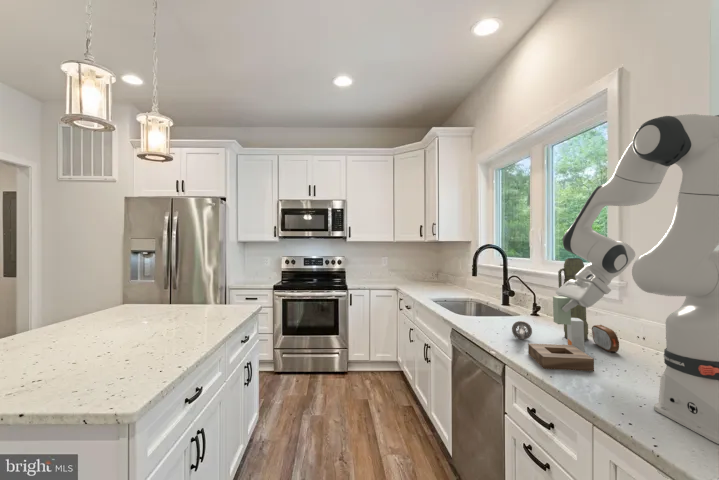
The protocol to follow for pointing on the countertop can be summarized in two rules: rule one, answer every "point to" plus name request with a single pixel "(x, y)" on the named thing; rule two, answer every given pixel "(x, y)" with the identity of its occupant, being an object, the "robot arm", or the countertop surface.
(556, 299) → the green block
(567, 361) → the walnut holder
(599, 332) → the tin
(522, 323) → the spaceship
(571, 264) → the thermos
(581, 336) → the skincare box
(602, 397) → the countertop surface
